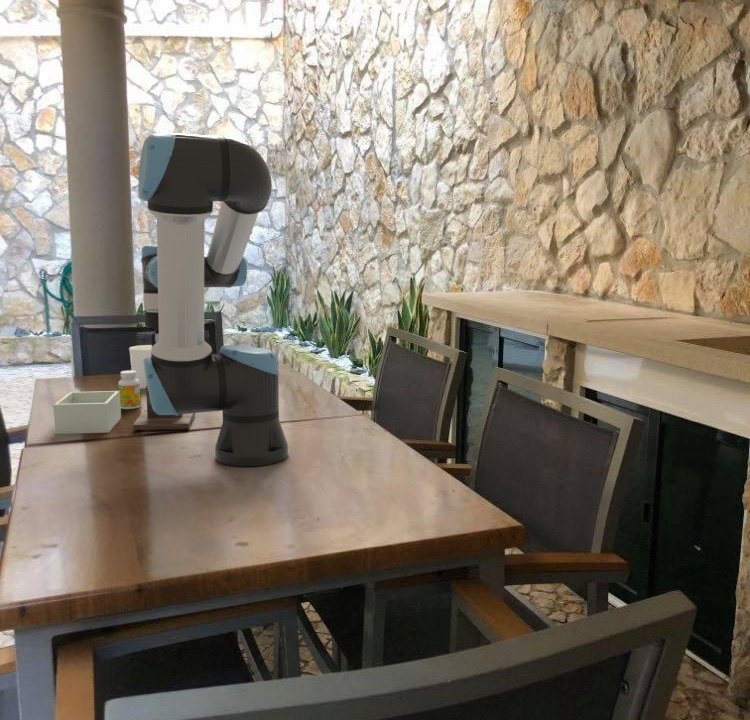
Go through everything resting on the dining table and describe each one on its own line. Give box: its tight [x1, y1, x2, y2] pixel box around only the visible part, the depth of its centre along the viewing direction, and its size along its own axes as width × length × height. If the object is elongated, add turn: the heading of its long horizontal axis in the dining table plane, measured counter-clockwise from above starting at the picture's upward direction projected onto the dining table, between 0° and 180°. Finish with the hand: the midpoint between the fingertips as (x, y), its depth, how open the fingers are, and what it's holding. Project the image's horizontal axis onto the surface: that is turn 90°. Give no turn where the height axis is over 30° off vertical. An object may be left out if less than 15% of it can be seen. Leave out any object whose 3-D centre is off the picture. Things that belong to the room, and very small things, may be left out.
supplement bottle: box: [117, 369, 141, 410], centre depth 200 cm, size 5×5×10 cm
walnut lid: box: [132, 386, 196, 432], centre depth 183 cm, size 15×13×10 cm
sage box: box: [53, 390, 122, 435], centre depth 181 cm, size 14×12×7 cm
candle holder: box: [128, 344, 152, 390], centre depth 228 cm, size 10×10×12 cm
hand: (164, 396), depth 183 cm, fingers open, 13 cm apart
